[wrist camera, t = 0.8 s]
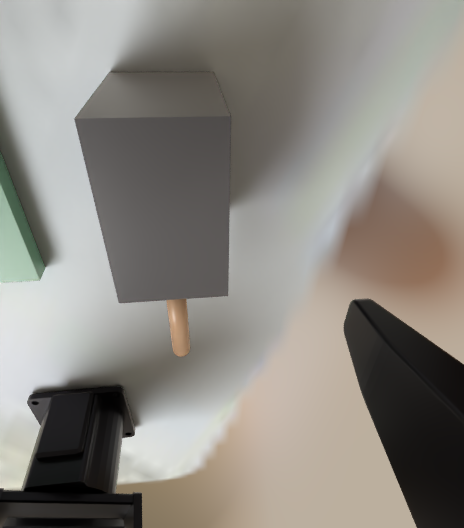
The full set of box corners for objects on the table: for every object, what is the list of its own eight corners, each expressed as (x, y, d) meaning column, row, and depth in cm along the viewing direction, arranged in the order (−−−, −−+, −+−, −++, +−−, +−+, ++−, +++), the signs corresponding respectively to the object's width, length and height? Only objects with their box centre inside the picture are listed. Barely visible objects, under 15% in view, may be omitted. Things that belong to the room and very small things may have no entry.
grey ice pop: (215, 281, 21) (226, 367, 16) (145, 285, 21) (136, 375, 16) (213, 71, 14) (231, 116, 10) (109, 72, 14) (74, 118, 9)
